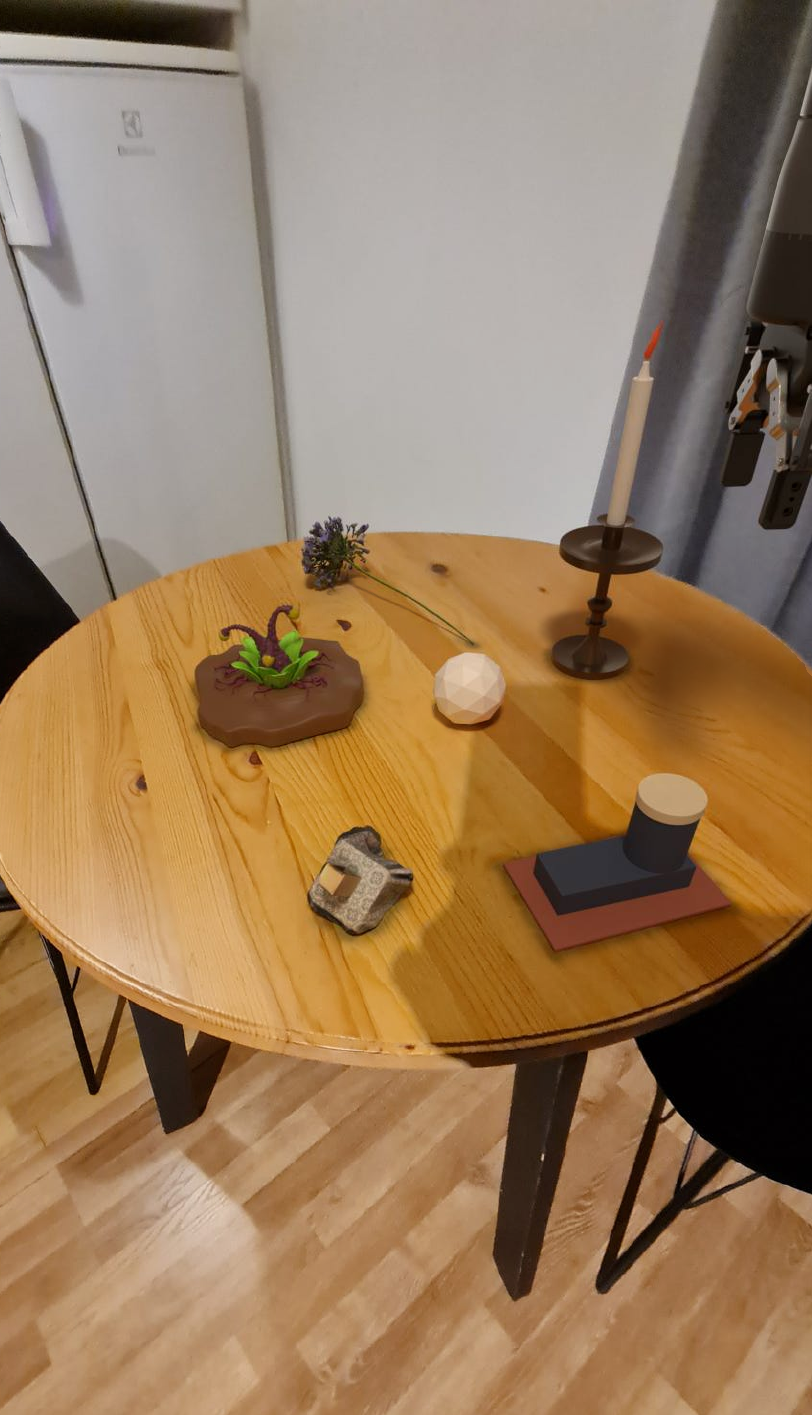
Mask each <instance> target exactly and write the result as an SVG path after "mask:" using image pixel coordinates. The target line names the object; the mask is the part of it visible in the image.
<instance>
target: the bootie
mask: <svg viewBox="0 0 812 1415" xmlns="http://www.w3.org/2000/svg"><path fill="white" fill-rule="evenodd" d="M708 799H709V798H708V795H707V793H706V791H705V789H704V788H703V787H702V786H701V785H700V784H699V783H697V782H696V781H694V780H692V779H691V778H689V777H687V776H684V775H680V774H676V773H668V772H660V773H658V772H657V773H653V774H651V775H648V776H645V777H644V778H643V779H641V781H640V782H639V783H638V786H637V789H636V793H635V801H634V805H633V808H632V812H631V816H630V819H629V823H628V825H627V830H626V833H625V834H626V835H624V834H623V835H624V836H619V835H618V836H619V837H615V836H613V837H614V838H611V837H609V838H610V839H607V838H604V839H605V840H603V839H599V840H600V841H599V840H595V842H594V841H590V842H586V843H581V844H576V845H572V846H567V847H561V848H557V849H551V850H548V851H542V852H537V853H536V855H535V856H536V861H535V867H534V872H533V874H534V875H535V877H536V879H537V881H538V882H539V884H540V886H541V888H542V889H543V891H544V893H545V895H546V896H547V898H548V900H549V901H550V903H551V905H552V907H553V908H554V910H555V912H556V914H557V915H558V916H559V915H563V914H568V913H572V912H577V911H581V910H586V909H591V908H595V907H600V906H604V905H609V904H613V903H618V902H622V901H627V900H631V899H636V898H640V897H645V896H649V895H654V894H658V893H663V892H667V891H672V890H676V889H681V888H685V887H689V886H690V883H691V880H692V878H693V875H694V873H695V870H696V867H697V866H696V865H695V864H694V863H693V861H692V860H691V859H690V858H689V856H688V855H687V853H689V850H690V848H691V845H692V842H693V839H694V837H695V835H696V833H697V829H698V826H699V824H700V821H701V818H702V817H703V816H704V814H705V811H706V808H707V806H708V802H709V800H708Z"/></svg>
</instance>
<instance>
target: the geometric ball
mask: <svg viewBox="0 0 812 1415" xmlns="http://www.w3.org/2000/svg"><path fill="white" fill-rule="evenodd" d="M506 689H507V685H506V681H505V679H504V675H503V672H502V670H501V667H500V665H498V664H497V663H496V662H495V661H493V660H492V659H491V658H490V657H488V656H487V655H486V654H485V653H477V652H466V651H465V652H463V653H460V654H458V655H455V656H452V657H450V658H447V660H446V661H445V663H444V664H443V665H442V666H441V667H440V668H439V669H438V670H437V672H436V673H435V674H434V679H433V688H432V694H433V697H434V701H435V703H436V706H437V709H438V711H439V712H440V713H441V714H442V715H443V716H444V717H446V718H447V719H448V720H450V721H451V722H452V723H453V724H459V725H461V724H462V725H474V724H475V725H476V724H479V723H482V722H484V721H489V720H491V718H492V717H493V716H494V714H495V713H496V712H497V710H498V709H500V707H501V706H502V704H503V703H504V698H505V693H506Z"/></svg>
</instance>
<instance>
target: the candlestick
mask: <svg viewBox="0 0 812 1415" xmlns="http://www.w3.org/2000/svg"><path fill="white" fill-rule="evenodd" d="M663 323H664V322H663V321H661V322H660V324H659V326H658V327H657V328H656V329H655V330H654V331H653V333H652V336H651V340H650V342H648V344H647V347H646V348H645V350H644V352H643V358H644V361H643V362H642V366H641V368H640V371H639V373H638V375H637V376H633V378H632V382H631V387H630V392H629V399H628V403H627V408H626V415H625V420H624V426H623V430H622V436H621V442H620V445H619V450H618V451H619V452H618V457H617V463H616V467H615V468H616V469H615V474H614V479H613V483H612V489H611V495H610V499H609V500H610V501H609V505H608V511H607V513H602V514H601V515H599V516H597V517H596V522H597V523H598V524H595V525H586V526H585V525H584V526H582V527H577V528H574V529H571V530H569V531H567V532H565V534H564V535H562V536H561V538H560V541H559V548H558V553H559V556H560V558H561V559H562V560H563V561H564V562H565V563H567V564H568V565H570V566H572V567H574V568H576V569H579V570H581V571H582V570H583V571H585V572H590V573H594V574H598V577H597V583H596V589H595V594H594V595H591V596H589V598H588V599H587V602H586V605H587V608H588V610H589V612H590V616H588V617H585V622H584V624H585V625H586V626H587V627H588V630H587V634H576V635H569V636H567V637H564V638H561V639H559V640H558V641H556V642H555V643H554V644H553V646H552V648H551V652H550V661H551V663H552V665H553V666H554V667H555V668H556V669H558V671H560V672H562V673H563V674H566V675H567V676H571V677H574V678H577V679H583V680H591V681H596V680H606V679H607V680H608V679H610V678H611V679H612V678H615V677H617V676H619V675H621V674H622V673H623V672H625V670H627V666H628V662H629V658H630V656H629V653H628V651H627V649H626V648H625V647H624V646H623V645H622V644H621V643H619V642H618V641H615V640H613V639H610V638H608V637H605V636H601V635H600V634H601V631H602V630H601V629H603V628H605V627H607V623H608V621H607V619H606V618H605V613H608V612H609V610H610V609H611V608H612V607H613V600H612V599H611V597H609V596H608V594H609V589H610V584H611V580H612V579H611V578H612V575H613V576H621V575H623V576H624V575H625V576H626V575H635V574H640V573H644V572H647V571H649V570H651V569H653V568H655V567H657V566H658V565H659V564H660V562H661V560H662V556H663V551H664V544H663V543H662V541H661V540H660V539H659V538H658V537H656V536H655V535H653V534H652V533H649V532H646V531H645V530H642V529H638V528H634V527H632V526H633V525H635V523H636V519H635V518H634V517H632V516H630V515H627V512H628V508H629V503H630V497H631V492H632V488H633V483H634V478H635V472H636V468H637V463H638V458H639V452H640V448H641V444H642V439H643V432H644V428H645V423H646V419H647V414H648V409H649V404H650V399H651V395H652V389H653V385H654V384H653V383H654V377H652V376H651V375H650V365H651V364H650V363H651V361H649V360H650V359H651V357H652V355H653V353H654V351H655V350H656V347H657V345H658V342H659V338H660V335H661V331H662V328H663V325H664V324H663Z"/></svg>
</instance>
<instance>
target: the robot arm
mask: <svg viewBox="0 0 812 1415" xmlns="http://www.w3.org/2000/svg"><path fill="white" fill-rule="evenodd" d="M799 116H800V117H801V118H799V119H798V120H797V123H796V126H795V129H794V133H793V136H792V138H791V142H790V144H789V147H788V150H787V152H786V155H785V158H784V160H783V164H782V166H781V169H780V172H779V176H778V180H777V184H776V188H775V191H774V194H773V198H772V203H771V207H770V211H769V215H768V219H767V222H766V227H765V231H764V235H763V239H762V243H761V247H760V249H759V250H760V251H759V255H758V258H757V262H756V267H755V271H754V275H753V278H752V283H751V286H750V291H749V293H748V294H749V295H748V298H747V302H746V313H747V315H748V316H749V317H750V318H752V319H753V320H748V321H747V322H746V324H745V326H744V329H743V332H742V337H741V340H740V343H739V347H738V351H737V354H736V358H735V361H734V365H733V369H732V373H731V376H730V380H729V383H728V386H727V391H726V393H725V394H726V395H725V398H724V402H723V406H722V407H723V408H722V412H723V414H724V415H729V419H728V429H729V431H731V432H730V436H729V439H728V442H727V443H728V444H727V447H726V452H725V454H724V459H723V462H722V465H721V469H720V473H719V477H718V480H719V483H720V484H721V485H722V486H723V487H724V488H736V487H737V488H738V487H739V488H740V487H746V486H748V485H749V484H751V483H752V481H753V479H754V478H753V477H754V474H755V471H756V468H757V464H758V461H759V457H760V454H761V450H762V447H763V444H764V441H765V437H766V433H765V432H764V431H763V430H764V429H766V428H767V427H768V433H769V435H770V436H771V438H774V439H775V441H776V443H775V445H776V448H775V469H773V471H772V474H771V477H770V481H769V485H768V487H767V490H766V492H765V497H764V499H763V503H762V506H761V510H760V513H759V515H758V519H757V522H758V523H757V524H758V525H759V526H760V527H761V528H762V529H763V530H766V531H772V530H773V531H774V530H789V529H791V528H793V527H794V526H795V524H796V522H797V520H798V517H799V514H800V512H801V508H802V506H803V503H804V500H805V497H806V494H807V491H808V488H809V485H810V483H811V482H810V481H811V479H812V68H811V69H810V72H809V77H808V81H807V84H806V89H805V92H804V97H803V100H802V104H801V109H800V112H799ZM794 437H796V438H795V441H794Z"/></svg>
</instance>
